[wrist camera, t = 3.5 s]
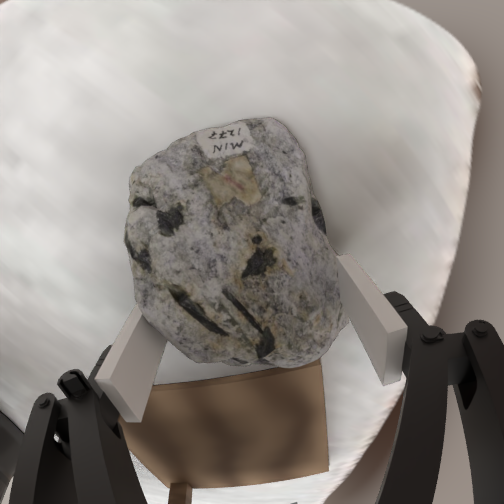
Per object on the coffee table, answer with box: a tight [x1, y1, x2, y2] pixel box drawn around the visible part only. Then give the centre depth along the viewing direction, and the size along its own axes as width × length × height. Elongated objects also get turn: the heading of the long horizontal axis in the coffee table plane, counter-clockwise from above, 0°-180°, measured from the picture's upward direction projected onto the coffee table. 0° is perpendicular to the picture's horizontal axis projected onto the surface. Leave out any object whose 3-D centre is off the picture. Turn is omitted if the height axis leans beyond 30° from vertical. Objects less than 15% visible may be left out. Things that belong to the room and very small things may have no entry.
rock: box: [124, 117, 349, 368], centre depth 15 cm, size 15×10×7 cm
